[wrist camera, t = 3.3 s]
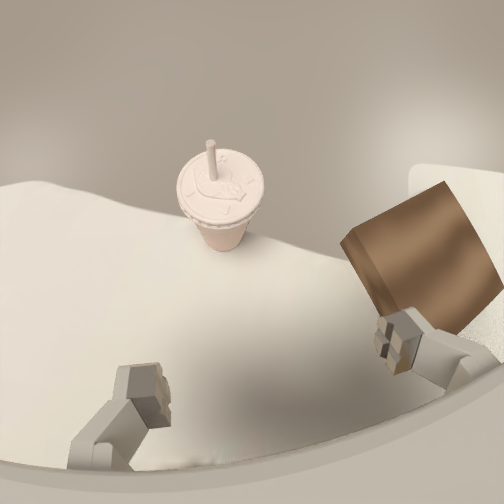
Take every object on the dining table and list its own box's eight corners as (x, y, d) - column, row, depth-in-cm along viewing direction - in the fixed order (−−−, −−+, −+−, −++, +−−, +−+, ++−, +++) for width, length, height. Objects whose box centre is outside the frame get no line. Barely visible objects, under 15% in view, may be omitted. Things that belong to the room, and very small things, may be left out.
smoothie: (215, 193, 33) (208, 96, 20) (268, 225, 32) (291, 137, 19) (178, 242, 31) (143, 161, 18) (232, 278, 31) (231, 213, 17)
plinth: (483, 295, 31) (504, 287, 28) (404, 362, 29) (425, 361, 25) (427, 196, 35) (444, 180, 31) (339, 243, 32) (352, 228, 29)
